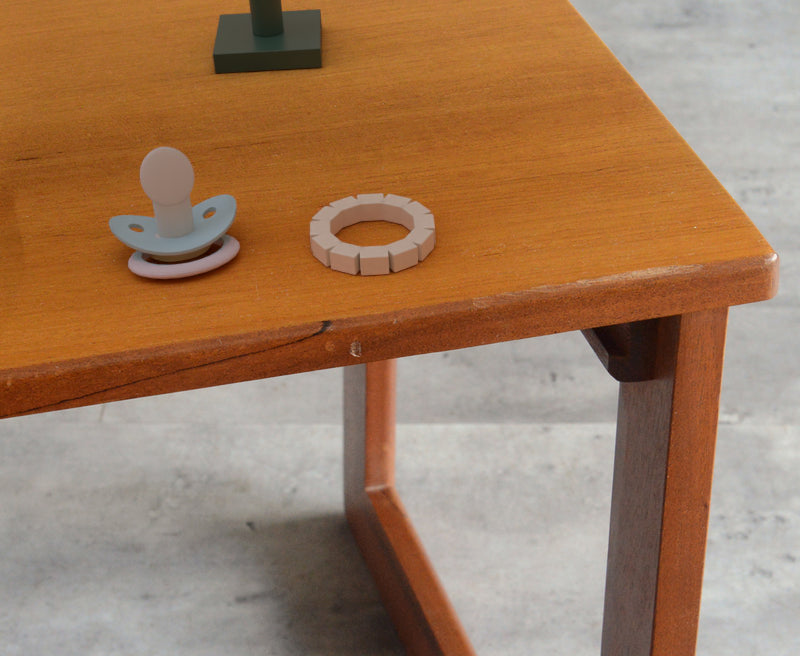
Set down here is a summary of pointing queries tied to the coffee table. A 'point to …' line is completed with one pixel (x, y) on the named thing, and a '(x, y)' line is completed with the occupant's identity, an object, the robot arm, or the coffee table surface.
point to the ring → (372, 257)
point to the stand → (268, 39)
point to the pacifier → (176, 221)
